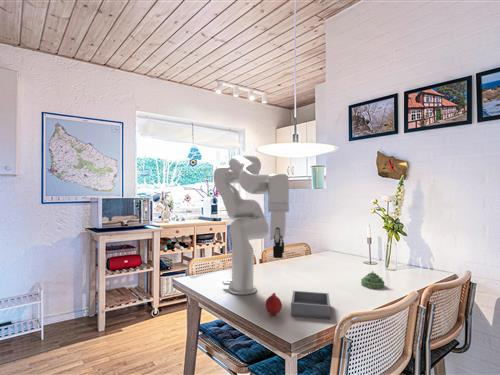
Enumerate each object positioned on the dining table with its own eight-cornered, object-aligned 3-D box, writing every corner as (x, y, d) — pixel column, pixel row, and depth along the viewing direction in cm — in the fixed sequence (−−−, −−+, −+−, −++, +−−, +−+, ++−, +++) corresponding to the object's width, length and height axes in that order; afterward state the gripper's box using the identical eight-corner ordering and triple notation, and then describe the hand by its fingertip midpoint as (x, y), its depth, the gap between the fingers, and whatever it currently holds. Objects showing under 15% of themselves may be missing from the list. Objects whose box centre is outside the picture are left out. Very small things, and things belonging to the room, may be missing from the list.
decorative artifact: (356, 283, 150) (370, 290, 140) (357, 269, 149) (370, 274, 140) (374, 282, 152) (389, 288, 143) (375, 267, 152) (389, 273, 142)
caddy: (291, 315, 111) (291, 303, 111) (293, 302, 124) (293, 290, 124) (330, 319, 108) (330, 306, 108) (328, 304, 122) (328, 293, 122)
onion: (274, 320, 107) (275, 297, 107) (261, 315, 111) (262, 293, 111) (284, 315, 111) (284, 293, 111) (271, 311, 115) (272, 289, 115)
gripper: (270, 207, 123) (270, 250, 122) (265, 208, 106) (266, 259, 105) (289, 207, 121) (290, 251, 121) (287, 208, 104) (288, 260, 104)
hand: (278, 255), depth 113 cm, fingers open, 9 cm apart
